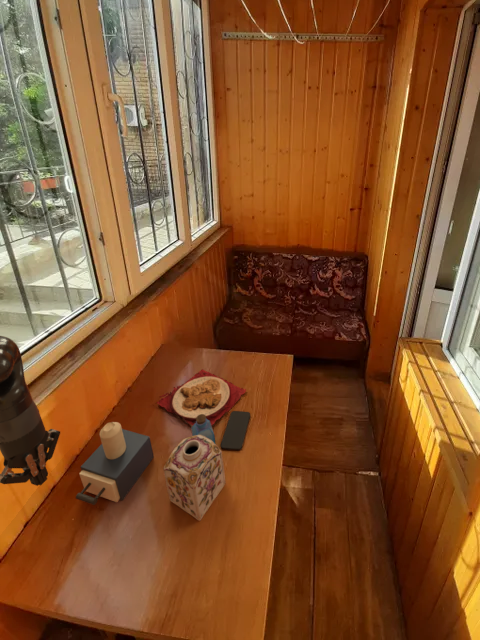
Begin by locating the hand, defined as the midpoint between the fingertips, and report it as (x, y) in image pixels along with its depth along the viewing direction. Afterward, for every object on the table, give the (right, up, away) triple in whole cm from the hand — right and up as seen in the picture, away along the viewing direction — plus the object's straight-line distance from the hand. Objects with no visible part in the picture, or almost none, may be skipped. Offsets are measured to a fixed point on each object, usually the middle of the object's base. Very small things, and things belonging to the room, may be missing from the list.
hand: (41, 481), depth 71 cm
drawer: (+4, -16, +21) cm, 27 cm away
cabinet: (+5, -15, +25) cm, 30 cm away
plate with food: (+23, -5, +53) cm, 58 cm away
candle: (+5, -7, +22) cm, 24 cm away
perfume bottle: (+29, -12, +34) cm, 46 cm away
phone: (+38, -10, +39) cm, 55 cm away
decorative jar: (+31, -17, +19) cm, 40 cm away
